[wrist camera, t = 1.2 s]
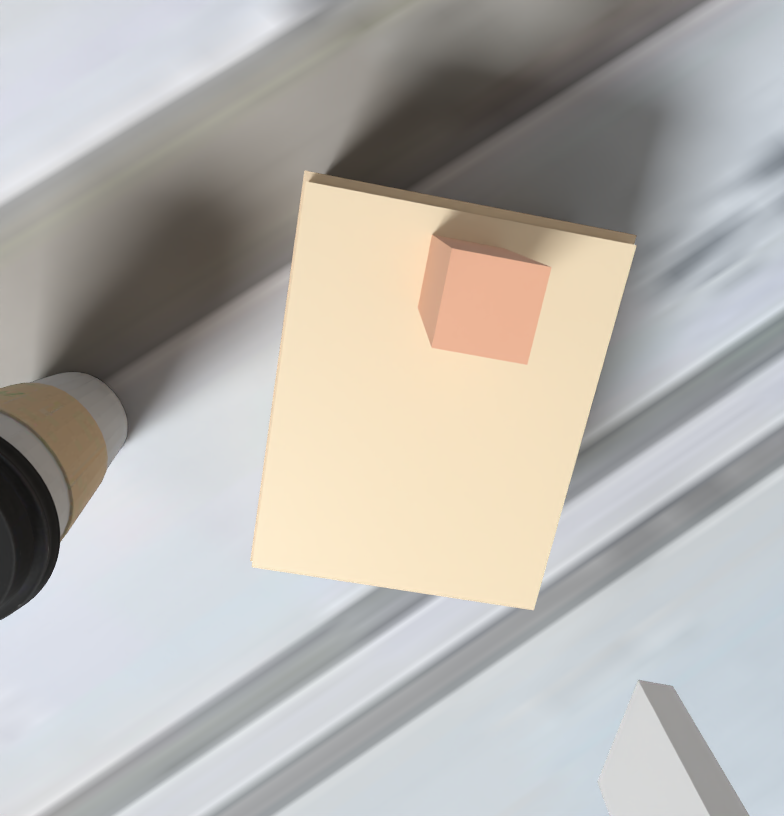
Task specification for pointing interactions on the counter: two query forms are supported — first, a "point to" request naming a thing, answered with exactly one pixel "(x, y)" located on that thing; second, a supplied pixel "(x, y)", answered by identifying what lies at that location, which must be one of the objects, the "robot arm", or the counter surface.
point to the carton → (431, 201)
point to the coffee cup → (49, 471)
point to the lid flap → (432, 395)
